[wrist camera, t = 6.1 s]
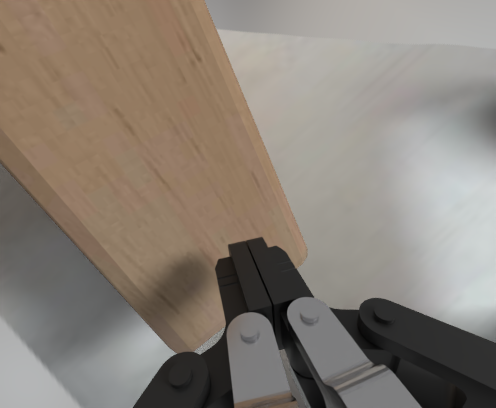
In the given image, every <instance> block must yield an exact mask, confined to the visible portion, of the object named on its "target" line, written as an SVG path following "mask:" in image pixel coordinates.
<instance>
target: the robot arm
mask: <svg viewBox="0 0 496 408" xmlns="http://www.w3.org/2000/svg"><path fill="white" fill-rule="evenodd" d="M228 250H229V257H225V258H221V259H218V261H217V264H216V267H215V271H216V276H217V281H218V287H219V292H220V297H221V302H222V306H223V311H224V316H225V321H226V327H225V331H224V333H223V335H222V337H221V338H220V340H219V341H218V342H217V343H216V344H215V345H214V346H212V347H211V348H210V349H208V350H207V351H205V352H204V353H202V354H201V355H199V354H197V353H194V352H189V351H188V352H181V353H178V354H176V355H174V356H172V357H171V358H169V359H168V360H167V361H166V362H165V363H164V364H163V365H162V367H161V368H160V369H159V371H158V372H157V374H156V375H155V376H154V378H153V379H152V381H151V382H150V384H149V385H148V386H147V388H146V389H145V391H144V392H143V394H142V395H141V397H140V398H139V399H138V401H137V402H136V404H135V405H134V407H133V408H299V406H298V403H297V401H296V399H295V398H294V397H293V396H292V393H291V390H290V387H289V384H288V380H287V377H286V373H285V370H284V366H283V363H282V359H281V356H280V353H279V350H282V349H285V352H286V354H287V357H288V359H289V370H290V373H291V375H292V378H293V380H294V382H295V384H296V386H297V388H298V390H299V393H300V395H301V397H302V399H303V401H304V403H305V405H306V408H496V343H494V342H492V341H489V340H487V339H484V338H482V337H479V336H477V335H474V334H472V333H469V332H466V331H464V330H461V329H459V328H456V327H454V326H451V325H449V324H446V323H444V322H441V321H439V320H436V319H434V318H431V317H429V316H426V315H424V314H421V313H419V312H416V311H414V310H411V309H409V308H406V307H404V306H401V305H399V304H396V303H394V302H391V301H389V300H386V299H381V298H371V299H368V300H366V301H364V302H363V303H362V304H361V305H360V308H359V310H340V309H333V308H330V307H328V306H327V305H326V304H325V303H324V302H322V301H321V300H318V299H316V298H314V296H313V295H312V293H311V291H310V290H309V288H308V287H307V285H306V283H305V282H304V280H303V279H302V277H301V275H300V274H299V272H298V271H297V269H296V268H295V266H294V264H293V262H291V259H290V258H289V256H288V254H287V253H286V251H284V250H283V249H281V248H280V247H278V246H272V247H268V246H267V244H266V242H265V240H264V239H263V237H258V238H254V239H250V240H246V241H241V242H236V243H232V244H228Z"/></svg>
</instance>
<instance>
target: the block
mask: <svg viewBox="0 0 496 408" xmlns="http://www.w3.org/2000/svg"><path fill="white" fill-rule="evenodd" d="M0 163H1V164H2V165H3V166H4V167H5V168H6V170H7V171H8V172H9V173H10V174H11V175H12V176H13V177H14V178H15V179H16V181H17V182H18V183H19V184H20V185H21V186H22V187H23V188H24V189H25V190H26V191H27V193H28V194H29V195H30V196H31V197H32V198H33V199H34V200H35V201H36V202H37V204H38V205H39V206H40V207H41V208H42V209H43V210H44V211H45V212H46V213H47V214H48V216H49V217H50V218H51V219H52V220H53V221H54V222H55V223H56V224H57V225H58V227H59V228H60V229H61V230H62V231H63V232H64V233H65V234H66V235H67V236H68V237H69V239H70V240H71V241H72V242H73V243H74V244H75V245H76V246H77V247H78V248H79V250H80V251H81V252H82V253H83V254H84V255H85V256H86V257H87V258H88V259H89V260H90V262H91V263H92V264H93V265H94V266H95V267H96V268H97V269H98V270H99V271H100V272H101V274H102V275H103V276H104V277H105V278H106V279H107V280H108V281H109V282H110V283H111V285H112V286H113V287H114V288H115V289H116V290H117V291H118V292H119V293H120V294H121V295H122V297H123V298H124V299H125V300H126V301H127V302H128V303H129V304H130V305H131V306H132V308H133V309H134V310H135V311H136V312H137V313H138V314H139V315H140V316H141V317H142V318H143V320H144V321H145V322H146V323H147V324H148V325H149V326H150V327H151V328H152V329H153V331H154V332H155V333H156V334H157V335H158V336H159V337H160V338H161V339H162V340H163V341H164V343H165V344H166V345H167V346H168V347H169V348H170V349H172V350H173V351H174V352H176V353H181V352H188V351H189V352H193V351H195V350H196V349H197V348H199V347H200V346H201V345H202V344H204V343H205V342H206V341H207V340H209V339H210V338H211V337H212V336H213V335H215V334H216V333H217V332H218V331H220V330H221V329H222V328H223V327H225V326H226V321H225V316H224V311H223V306H222V302H221V297H220V292H219V287H218V281H217V276H216V271H215V267H216V264H217V261H218V259H221V258H225V257H229V250H228V244H232V243H236V242H241V241H246V240H250V239H254V238H258V237H263V239H264V240H265V242H266V244H267V246H268V247H272V246H278V247H280V248H281V249H283V250H284V251H286V253H287V254H288V256H289V258H290V259H291V262H293V264H294V266H295V268H296V269H297V268H298V267H299V266H300V265H302V264H303V262H304V261H305V259H306V257H307V247H306V244H305V242H304V240H303V237H302V235H301V232H300V230H299V228H298V225H297V223H296V220H295V218H294V216H293V213H292V211H291V208H290V206H289V203H288V201H287V199H286V196H285V194H284V191H283V189H282V187H281V184H280V182H279V179H278V177H277V175H276V172H275V170H274V167H273V165H272V163H271V160H270V158H269V155H268V153H267V150H266V148H265V146H264V143H263V141H262V138H261V136H260V134H259V131H258V129H257V126H256V124H255V122H254V119H253V117H252V114H251V112H250V109H249V107H248V105H247V102H246V100H245V97H244V95H243V93H242V90H241V88H240V85H239V83H238V81H237V78H236V76H235V73H234V71H233V69H232V66H231V64H230V61H229V59H228V56H227V54H226V52H225V49H224V47H223V44H222V42H221V40H220V37H219V35H218V32H217V30H216V28H215V25H214V23H213V20H212V18H211V16H210V13H209V11H208V8H207V6H206V3H205V1H204V0H0Z"/></svg>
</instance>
